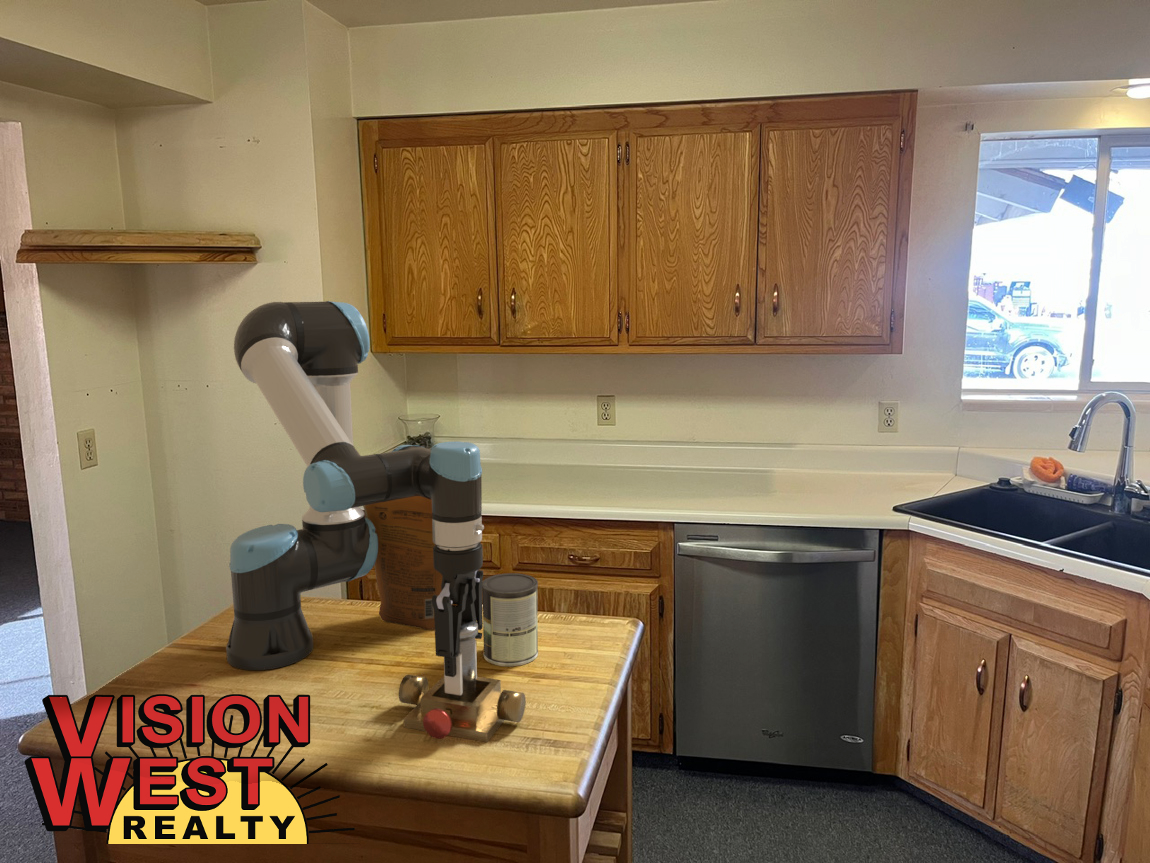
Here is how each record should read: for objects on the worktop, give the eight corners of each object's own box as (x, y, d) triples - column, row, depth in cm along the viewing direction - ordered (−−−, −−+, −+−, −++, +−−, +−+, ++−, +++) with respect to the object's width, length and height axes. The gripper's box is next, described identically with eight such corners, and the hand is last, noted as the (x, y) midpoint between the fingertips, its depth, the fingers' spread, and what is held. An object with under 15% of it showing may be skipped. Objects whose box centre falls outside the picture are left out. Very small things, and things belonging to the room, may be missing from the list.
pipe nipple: (437, 703, 127) (435, 630, 125) (453, 686, 132) (451, 617, 130) (470, 708, 125) (468, 635, 123) (485, 691, 131) (483, 621, 129)
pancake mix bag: (440, 636, 158) (441, 496, 155) (360, 620, 166) (359, 486, 162) (458, 625, 165) (459, 489, 161) (380, 610, 172) (379, 480, 168)
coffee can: (471, 656, 150) (469, 583, 148) (510, 638, 158) (509, 569, 156) (511, 672, 144) (510, 596, 142) (549, 652, 152) (549, 580, 150)
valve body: (378, 732, 124) (376, 701, 123) (423, 689, 138) (422, 660, 137) (499, 754, 118) (498, 721, 117) (534, 707, 132) (533, 677, 131)
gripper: (454, 563, 115) (458, 716, 119) (502, 529, 132) (504, 664, 136) (407, 558, 117) (412, 708, 121) (460, 525, 134) (463, 658, 138)
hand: (461, 685), depth 128 cm, fingers closed on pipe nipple, 4 cm apart
